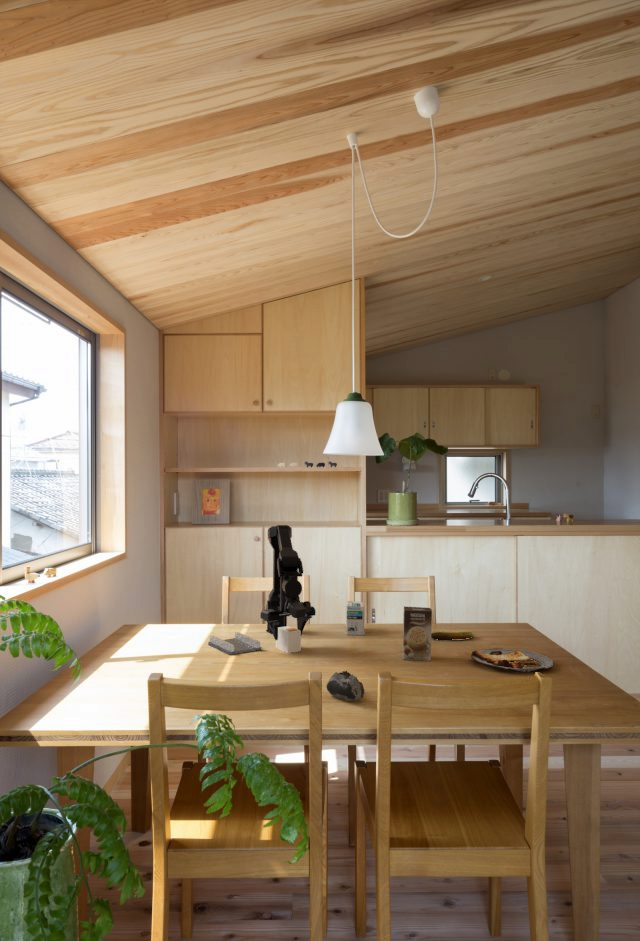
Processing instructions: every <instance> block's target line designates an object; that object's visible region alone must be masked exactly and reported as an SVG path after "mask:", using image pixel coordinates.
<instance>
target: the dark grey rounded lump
mask: <svg viewBox="0 0 640 941" xmlns="http://www.w3.org/2000/svg"><path fill="white" fill-rule="evenodd" d="M326 689H327V692H328V693H329V694H330V695H331V696H332V697H335V698H336V699H337V698H338V699H339V700H342V699H343V700H342V701H345V700H347V702H349V701H350V702H355V701H359V700H361V699H362V698H363V697H364V695H365V688H364V684H363V682H361V681H359V679H358V678H357V676H355V675H354V674H351V673H350V672H348V671H347V670H345V671H340V672H338V671H337V672H336V671H335V672H334V673H333V674H332V675H331V676H330V677H329V679H328V681H327V684H326Z"/></svg>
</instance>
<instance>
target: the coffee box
mask: <svg viewBox="0 0 640 941" xmlns="http://www.w3.org/2000/svg"><path fill="white" fill-rule="evenodd" d="M432 617H433V612H432V608H431V607H422V606H421V607H418V606H403V618H402V619H403V622H402V651H401V652H402V653H401V656H402V660H406V661H422V660H423V661H424V662H426V661H427V662H428V661H429V662H431V660H432V659H431V658H432V638H431V633H432V627H433V626H432V620H433V618H432Z"/></svg>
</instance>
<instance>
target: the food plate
mask: <svg viewBox="0 0 640 941" xmlns="http://www.w3.org/2000/svg"><path fill="white" fill-rule="evenodd" d="M470 657H471V658H472V659H473V660H474V661H475V662H477V663H479V664H482V665H488V666H490V667H492V666H493V668H499V669H502V670H508V669H510V670H512V671H513V670H514V671H516V672H522V673H525V672H526V671H527V672H526V673H529V672H532V671H537V670H542V669H549V668H552V667H553V666H554V660H553V659H552V658H551V657H548V656H547V655H543V654H541V653H539V652H534V651H533V652H532V651H529V650H524V649H523V650H522V649H513V648H504V647H496V648H486V649H480V650H473V651H471V654H470ZM530 659H533V660H530ZM534 660H535V661H537V662H539V663H540V665H541V666H540V667H539V666H537V667H528V668H525V669H524V668H523V667H524V665H537V663H535V662H534ZM514 661H516V662H514ZM509 662H513V663H509Z"/></svg>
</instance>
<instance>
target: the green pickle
mask: <svg viewBox="0 0 640 941" xmlns="http://www.w3.org/2000/svg"><path fill="white" fill-rule="evenodd" d="M471 637H473V638H474V632H472V631H471V630H466V629H462V630H455V631H452V630H449V631H448V630H447V631H446V630H442V631H441V630H437V631H436V630H435V631H433V632H431V639H433V640H435V639H438V640H437V641H440V640H452V639H466V638H471Z"/></svg>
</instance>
